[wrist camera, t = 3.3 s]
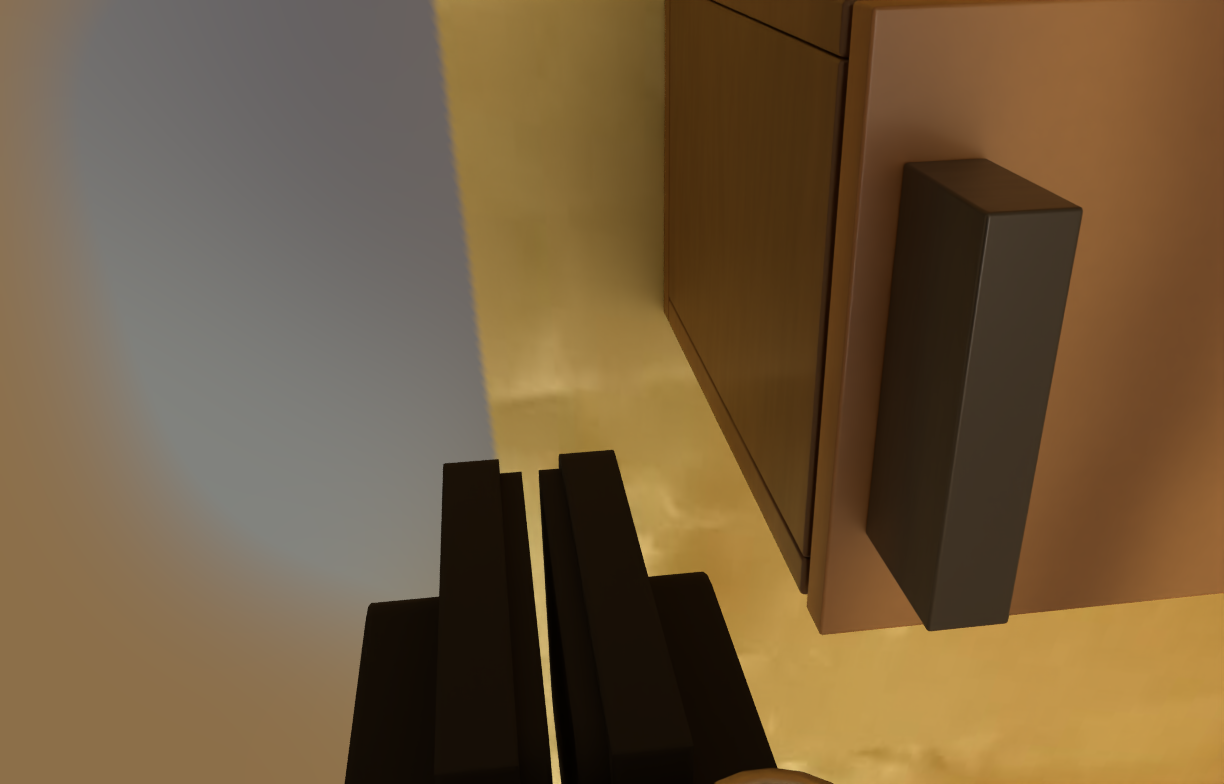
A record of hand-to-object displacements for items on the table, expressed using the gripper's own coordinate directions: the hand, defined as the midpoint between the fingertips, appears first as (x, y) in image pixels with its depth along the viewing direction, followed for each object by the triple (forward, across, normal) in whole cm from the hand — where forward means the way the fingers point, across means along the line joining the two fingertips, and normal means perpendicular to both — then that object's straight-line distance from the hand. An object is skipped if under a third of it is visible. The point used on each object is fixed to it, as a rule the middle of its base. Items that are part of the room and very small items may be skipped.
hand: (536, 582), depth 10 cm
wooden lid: (+6, -10, 0) cm, 11 cm away
